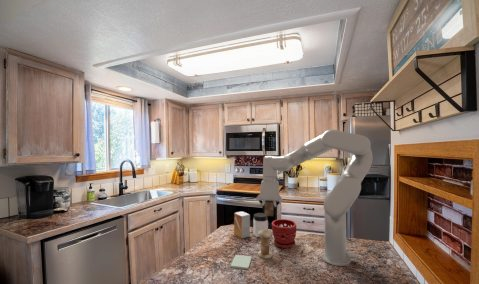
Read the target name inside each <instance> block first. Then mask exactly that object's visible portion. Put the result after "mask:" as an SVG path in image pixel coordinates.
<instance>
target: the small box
mask: <svg viewBox="0 0 479 284" xmlns="http://www.w3.org/2000/svg"><path fill="white" fill-rule="evenodd" d="M233 214H234V215H233V234H234V235H236V236H237V237H239V238H241V239H244V238H248V237H250V236H251V214H249V213H247V212H245V211H236V212H234V213H233Z"/></svg>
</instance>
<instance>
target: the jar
mask: <svg viewBox="0 0 479 284" xmlns="http://www.w3.org/2000/svg"><path fill="white" fill-rule="evenodd" d="M252 221H253V233H252V234H253V235H254V236H255V238H261V237H260V236H258V232H259V231H261V230H268V231H269V221H268V216H265V213H263V212H257V213H253V220H252Z"/></svg>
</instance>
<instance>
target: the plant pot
mask: <svg viewBox="0 0 479 284" xmlns="http://www.w3.org/2000/svg"><path fill="white" fill-rule="evenodd" d="M280 225H282V226H280ZM271 232H272V237H273V238H274V239H273V243H274V245H275V246H277V247H278V248H282V249H291V248H293V247H294V246H295V245H296V241H295V239H296V237H297V223H296V222H295V221H293V220H292V219H286V218H282V219H281V218H279V219H275V220H273V221H272V222H271Z"/></svg>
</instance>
